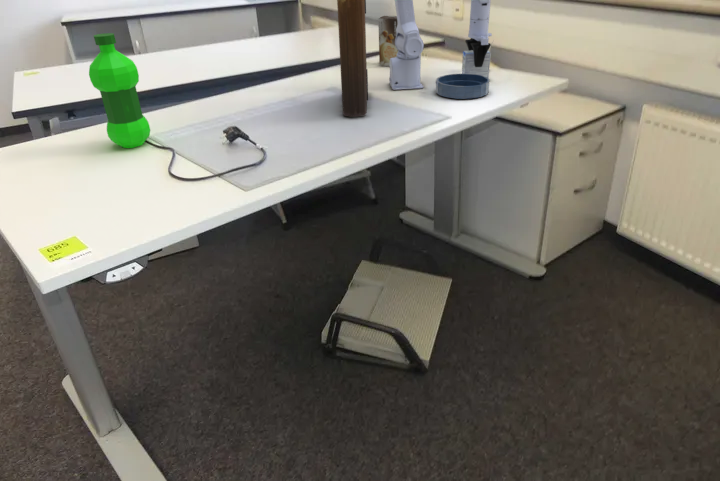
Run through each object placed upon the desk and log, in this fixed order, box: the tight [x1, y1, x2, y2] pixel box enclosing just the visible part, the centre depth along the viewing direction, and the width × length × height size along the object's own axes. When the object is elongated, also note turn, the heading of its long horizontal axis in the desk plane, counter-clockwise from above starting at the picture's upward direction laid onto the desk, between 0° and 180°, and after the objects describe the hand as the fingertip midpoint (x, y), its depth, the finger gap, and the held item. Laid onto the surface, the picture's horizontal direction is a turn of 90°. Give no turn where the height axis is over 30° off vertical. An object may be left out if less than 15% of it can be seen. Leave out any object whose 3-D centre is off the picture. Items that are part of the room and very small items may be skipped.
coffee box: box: [377, 15, 398, 67], centre depth 189 cm, size 9×6×16 cm
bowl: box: [435, 73, 490, 100], centre depth 157 cm, size 15×15×4 cm
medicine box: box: [461, 50, 492, 80], centre depth 169 cm, size 8×4×9 cm, turn 92°
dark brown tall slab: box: [336, 0, 369, 118], centre depth 143 cm, size 23×7×30 cm, turn 179°
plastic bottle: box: [88, 32, 151, 149], centre depth 123 cm, size 10×10×25 cm
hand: (476, 65), depth 169 cm, fingers closed on medicine box, 4 cm apart
